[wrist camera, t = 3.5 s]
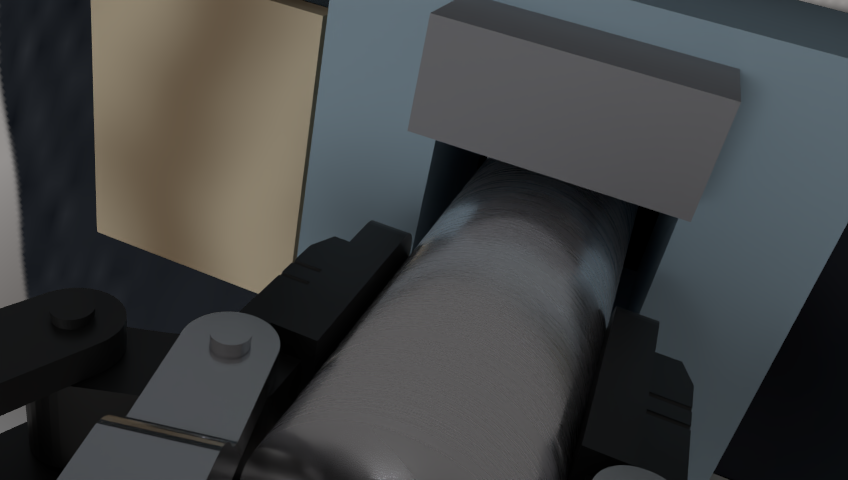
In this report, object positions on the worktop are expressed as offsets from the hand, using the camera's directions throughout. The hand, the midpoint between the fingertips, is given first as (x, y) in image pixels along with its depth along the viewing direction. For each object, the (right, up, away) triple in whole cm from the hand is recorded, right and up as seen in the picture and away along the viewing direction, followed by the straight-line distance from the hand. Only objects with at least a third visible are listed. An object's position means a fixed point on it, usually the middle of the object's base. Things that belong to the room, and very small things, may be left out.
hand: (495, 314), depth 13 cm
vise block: (+3, +3, +7) cm, 8 cm away
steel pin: (+3, +3, +7) cm, 8 cm away
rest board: (-8, +5, +10) cm, 13 cm away
